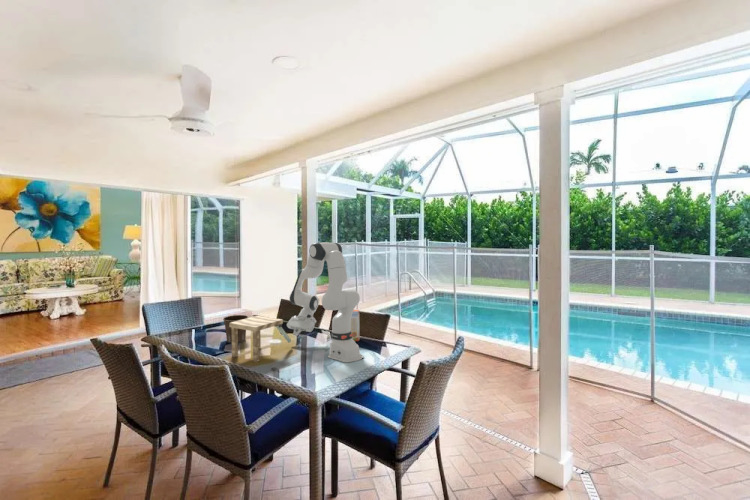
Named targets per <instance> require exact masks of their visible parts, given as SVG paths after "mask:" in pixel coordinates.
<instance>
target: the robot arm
mask: <svg viewBox="0 0 750 500" xmlns="http://www.w3.org/2000/svg"><path fill="white" fill-rule="evenodd" d="M308 251H309V254H308V257H307V260H306V265H305V267H304V268H302V269H301V270H300V271H299V273H298V276H297V278H296V281H295V283H294V286H293V288H292V291H291V292H290V295H289V301H290V303H291V304H292V305H293V306H294V305H295V306H299V307H302V308H301V309H300V312H299V313H298V315H293V316H291V318H290V319H289V320H288V322H286V327H287V328H288V329H290V330H293V333H292V335H293V336H296V337H297V336H299V334H301V332H308V333H311V332H312V331H313V330H314V328H315V326H316V323H317V320H316V318H315V317H314V313H316V311H317V309H318V308H319V304H320V298H319V297H318V296H316V295H314V294H312V293H308V292H305V291H302V287H303V284H304V283H305V282H304V281H305V280H306V279H316V278H319V276H321V275H322V273H323V270H324V266H325V262H326V264H327V272H328V273H327V275H328V287H327V289H326V292H325V293H324V294H323V296H322V297H321V305H322V307H323V308H324V309H325V310H326V311H337V313H336V314H335V315H334V316H333V317H332V320H331V322H332V323H331V329H332V330H331V341H330V346H329V354H328V355H327V357H328V358H329V359H332V360H335V361H340V362H341V363H342V362H343V363H352V362H358V361H360V360H363V359H364V357H365V355H363V354H362V353H360V352H361V350H360V346H359V344H357V343H356V341H354V340H353V339H352V335H353V334H352V333H351V331H350V323H351V316H352V313H353V310H355V308H356V307H357V306H358V305H359V303H360V299H361V297H360V294H359V293H358V291H357V290H353V289H345V290H343V286H344V284H345V283H346V282H347V281H348V272H347V268H346V267H347V266H346V261H345V258H344V255H343V248H342V246H341V244H340V243H337V242H327V241H325V242H314V243H312V244H311V245H310V246H309V250H308ZM362 358H363V359H362Z"/></svg>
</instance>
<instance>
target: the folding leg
mask: <svg viewBox="0 0 750 500" xmlns="http://www.w3.org/2000/svg"><path fill="white" fill-rule="evenodd" d="M275 328H276V329H277V330H278V332H280V334H281V335H282V337H283V338H284V340H285V341H286V342H287V343H291V342H292V339H291V338H290V336H289V335H288V334H287V332H286V331H285V330H284V328H283V327H279V325H276V327H275Z"/></svg>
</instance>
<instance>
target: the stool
mask: <svg viewBox="0 0 750 500" xmlns="http://www.w3.org/2000/svg"><path fill="white" fill-rule="evenodd" d="M283 324H284V319H282V318H276V317H269V316H261V315H256V316H251V317H248V318H247V319H243V320H239V321H235V322H231V323H229V327H231V328H232V343H231V357H234V358H236V357H238V356H239V345H238V344H239V342H238V329H243V330H246V331H249V332H252V362H255V363H259V362H260V349H261V347H262V346H261V343H262V342H261V338H262V337H261V331H262V330H266V329H269V328H273V327H274V328H277V327H276V325H279V327H282V326H283ZM282 328H283V327H282Z"/></svg>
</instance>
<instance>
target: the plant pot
mask: <svg viewBox="0 0 750 500" xmlns="http://www.w3.org/2000/svg"><path fill="white" fill-rule="evenodd" d="M247 318H249V316H248V315H246V314H235V315H228V316H225V317H223V318H222V320H223V325H224V329H225V334H226V342H227V343H230V344H232V328H231V327H229V323H231V322H235V321H239V320H243V319H247ZM246 334H247V330H243V329H238V343H242V342H244V341H246V336H247V335H246Z"/></svg>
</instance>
